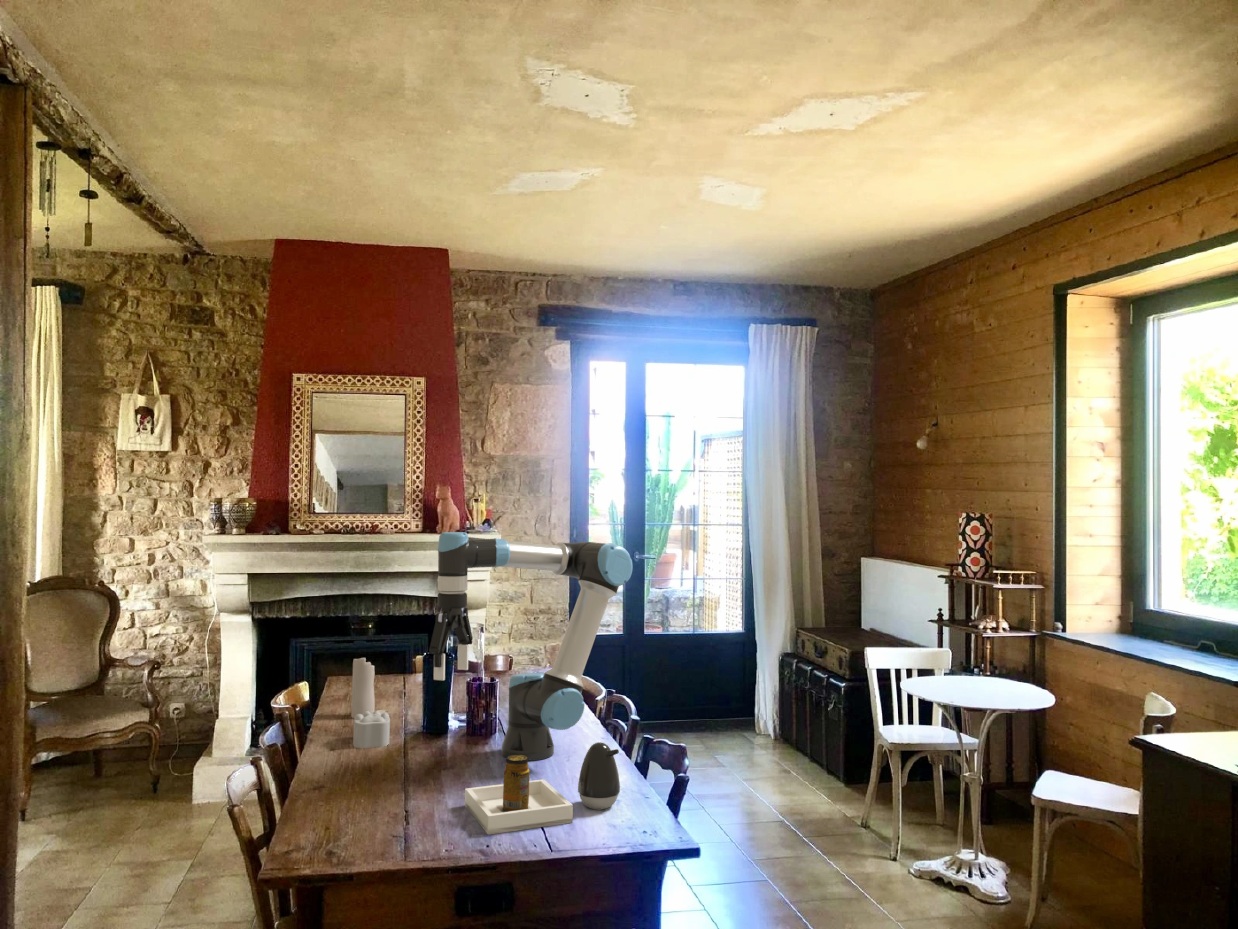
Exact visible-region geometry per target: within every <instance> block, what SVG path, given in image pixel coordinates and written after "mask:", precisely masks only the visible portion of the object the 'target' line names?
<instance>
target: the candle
mask: <svg viewBox="0 0 1238 929" xmlns="http://www.w3.org/2000/svg"><path fill="white" fill-rule="evenodd" d="M366 661H367V659H366V657H361V658H353V661H352V682H351V683H352V684H351V712H350V715H351V716H350V717H351V718H352V719H354V718H355V717H356V715H357V714H363V713H364V712H366V711H369V712H370V713H373V712H374V711H379V712H380V714H382V713H385V711H386V710H385V709H379V710H378V709H377V710H376V706H375V705H376V700H375V698H376V697H375V687H374V685H375V684H374V683H375V682H374V681H375V675H376V674H375V665H373V664H372V663H371V661H367V662H366Z"/></svg>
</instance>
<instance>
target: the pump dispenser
mask: <svg viewBox="0 0 1238 929" xmlns="http://www.w3.org/2000/svg"><path fill="white" fill-rule="evenodd" d="M619 752H620V750H619V749H617V748H616V749H611V748H610V746H609V745H608V744H606V743H605V742H594V743H593V744H591V746H590V747H589V748H588V750H587V751H586V754H585V756H584V759H583V761H582V764H581V769H580V772H579V777H578V784H577V785H578V786H577V792H578V795H579V797H580V800H581V802H582V804H584V805H585V806H586V807H587V808H589V809H592V810H597V809H601V810H606V809H608V808H610V807H612V806H613V805H614V804H615V802H616V801H617V799H618V797H619V794H620V792H621V784H620V775H619V770H618V765H617V762H616V759H615V756H616V755H618V754H619Z"/></svg>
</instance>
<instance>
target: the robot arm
mask: <svg viewBox="0 0 1238 929" xmlns="http://www.w3.org/2000/svg"><path fill="white" fill-rule="evenodd" d="M437 545H438V546H437V561H438V564H437V567H438V568H437V570H438V571H437V579H436V582H437V591H439V592H438V594H437V607H438V608H439V609H442V612H441V613H436V614H435V624H434V626H433V632H432V635H431V640H430V645H429V649H428V650H429V654H431V655H433V680H434V681H445V680H446V653H444V651H445V649H446V646H447V643H448V641H449V637H450V636H451V632H453V631H454V633H455V635H456V638H457V639H458V642H459V644H457V670H458V671H459V670H463V671H468V670H469V645H472V644H473V640H474V639H473V638H474V637H473V633H472V627H471V624H470V618H469V608H468V607H467V605H468V593H467V591H468V572H469V571H468V569H473V568H474V569H475V568H477V569H478V568H499V567H501V568H513V569H525V570H526V569H527V570H538V571H551V572H552V573H553V574H555V575H558V576H566V577H570V578H574V579H578V582H577V583H578V584H579V586H580V591H579V594H578V596H577V599H576V602H575V605H574V608H573V610H572V613H571V616H570V619H569V621H568V625H567V628H566V630H565V632H564V636H563V637H562V640H561V643H560V646H559V648H558V652H557V654H556V657H555V660H554V663H553V665H552V668H550V669H549V670H547V671H545V672H543V671H542V672H525V673H523V672H522V673H517V674H513V675H511V676H510V678H509V683H508V684H509V685H508V722H507V723H508V724H507V729H506V732H505V735H504V737H503V741H502V744H501V755H502V757H504V758H505V759H506V758H507V757H509V756H512V755H522V756H526V757H527V758H528V761H539V760H545V759H548V758H550V757H552V756H553V755H554V753H555V752H554V751H555V745H554V742H553V737H552V734H551V731H550V729H553V730H558V731H564V730H568V729H570V728H571V727H574V726H575V725H576V724H578V723H579V721H580V720H581V718H582V716H583V714H584V711H585V701H584V697H583V695H582V692H583V690H584V684H583V681H582V676H583V674H584V671H585V668H586V665H587V662H588V659H589V656H590V655H591V651H592V648H593V645H594V643H595V639H596V636H597V634H598V631H599V629H600V625H601V623H602V620H603V616H604V614H605V612H606V608H607V606H608V604H609V600H610V599H611V598H614V597H615V596H617V593H618V591H619V588H620V587H621V586H623V585H624V584H626V583H627V582H628V581H629V580H630V579H631V576H632V573H633V560H632V558H631V555H630V553H629V552H628V550H627V549H625V547H623V546H621V545H619V544H615V543H609V542H608V543H605V542H603V543H602V542H593V541H583V542H557V543H555V544H554V545H552V544H547V543H546V544H543V543H534V542H525V541H524V542H522V541H516V540H515V541H514V540H512V541H511V540H506V539H505V538H497V537H496V538H495V537H494V538H482V537H473V536H472V537H471V536H469V535H468V533H467V532H465V531H464V532H463V531H462V532H461V531H459V532H458V531H451V532H450V531H447V532H446V531H444V532H441V533H440V535H439V537H438V544H437ZM551 755H552V756H551Z"/></svg>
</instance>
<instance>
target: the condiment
mask: <svg viewBox="0 0 1238 929" xmlns="http://www.w3.org/2000/svg"><path fill="white" fill-rule="evenodd" d="M528 762H529V760H528V758H527V757H526V756H522V755H512V756H509V757H507V758H506V757H505V768H504V771H503V783H502V784H503V805H497V808H498V809H499V810H500V811H502V812H509V811H517V810H525V809H532V808H530V807H529V806H528V803H529V781H530V779H531V778H530V769H529V763H528Z"/></svg>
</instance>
